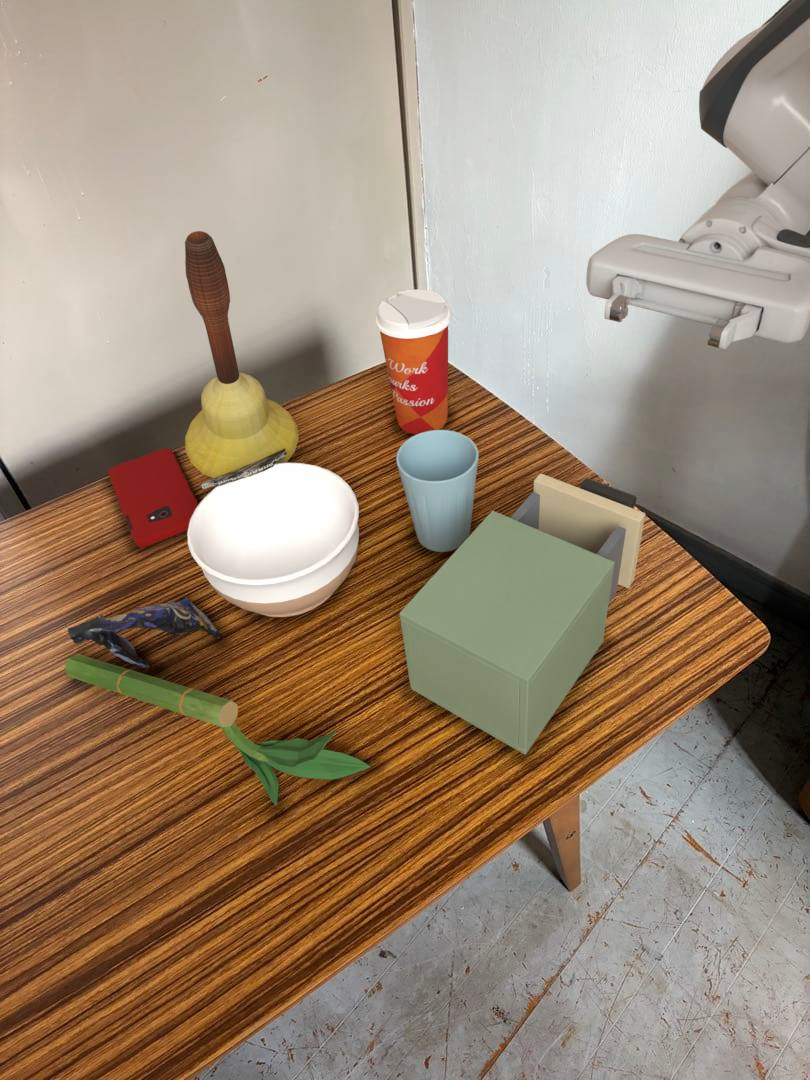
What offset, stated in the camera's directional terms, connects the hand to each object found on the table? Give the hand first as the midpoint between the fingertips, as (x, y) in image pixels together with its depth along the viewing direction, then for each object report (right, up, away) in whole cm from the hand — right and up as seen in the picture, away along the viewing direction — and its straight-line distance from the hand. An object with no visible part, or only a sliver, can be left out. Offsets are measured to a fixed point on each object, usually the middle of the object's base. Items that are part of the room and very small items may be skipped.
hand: (662, 326), depth 68 cm
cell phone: (-50, -13, +20) cm, 56 cm away
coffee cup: (-20, -4, +27) cm, 34 cm away
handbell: (-40, -7, +19) cm, 45 cm away
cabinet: (-13, -29, +1) cm, 32 cm away
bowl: (-34, -22, +11) cm, 42 cm away
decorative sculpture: (-34, -9, +15) cm, 38 cm away
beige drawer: (-7, -23, +6) cm, 24 cm away
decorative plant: (-39, -35, -1) cm, 52 cm away
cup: (-18, -18, +13) cm, 29 cm away
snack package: (-51, -28, +2) cm, 58 cm away
